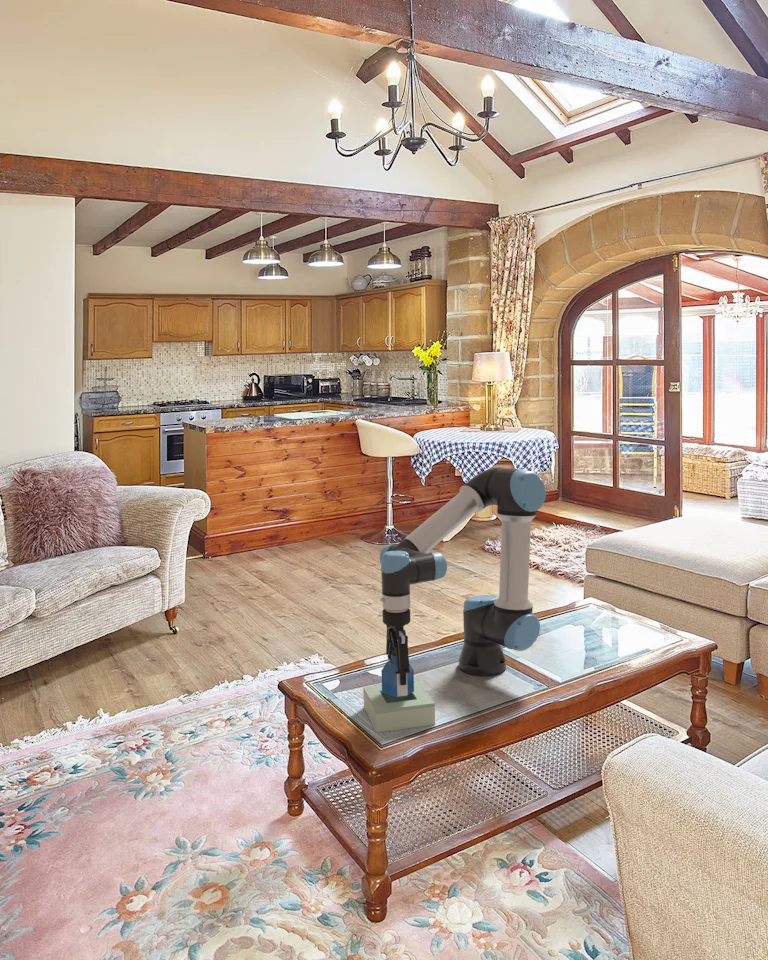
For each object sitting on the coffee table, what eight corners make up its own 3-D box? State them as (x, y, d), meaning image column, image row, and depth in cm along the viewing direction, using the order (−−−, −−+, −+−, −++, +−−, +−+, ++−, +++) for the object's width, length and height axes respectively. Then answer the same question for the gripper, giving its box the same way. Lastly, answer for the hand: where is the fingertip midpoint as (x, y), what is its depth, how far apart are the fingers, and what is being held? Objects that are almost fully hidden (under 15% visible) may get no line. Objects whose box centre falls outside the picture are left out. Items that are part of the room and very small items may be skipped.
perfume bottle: (382, 692, 206) (380, 650, 205) (397, 685, 211) (396, 644, 209) (398, 698, 202) (397, 655, 200) (413, 691, 206) (413, 649, 205)
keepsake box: (418, 700, 217) (417, 680, 216) (435, 724, 201) (434, 703, 201) (363, 707, 213) (363, 687, 212) (376, 732, 198) (376, 710, 197)
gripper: (373, 599, 213) (375, 676, 216) (392, 621, 192) (394, 706, 195) (399, 596, 214) (401, 673, 217) (420, 618, 194) (422, 702, 197)
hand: (398, 688), depth 206 cm, fingers closed on perfume bottle, 8 cm apart
